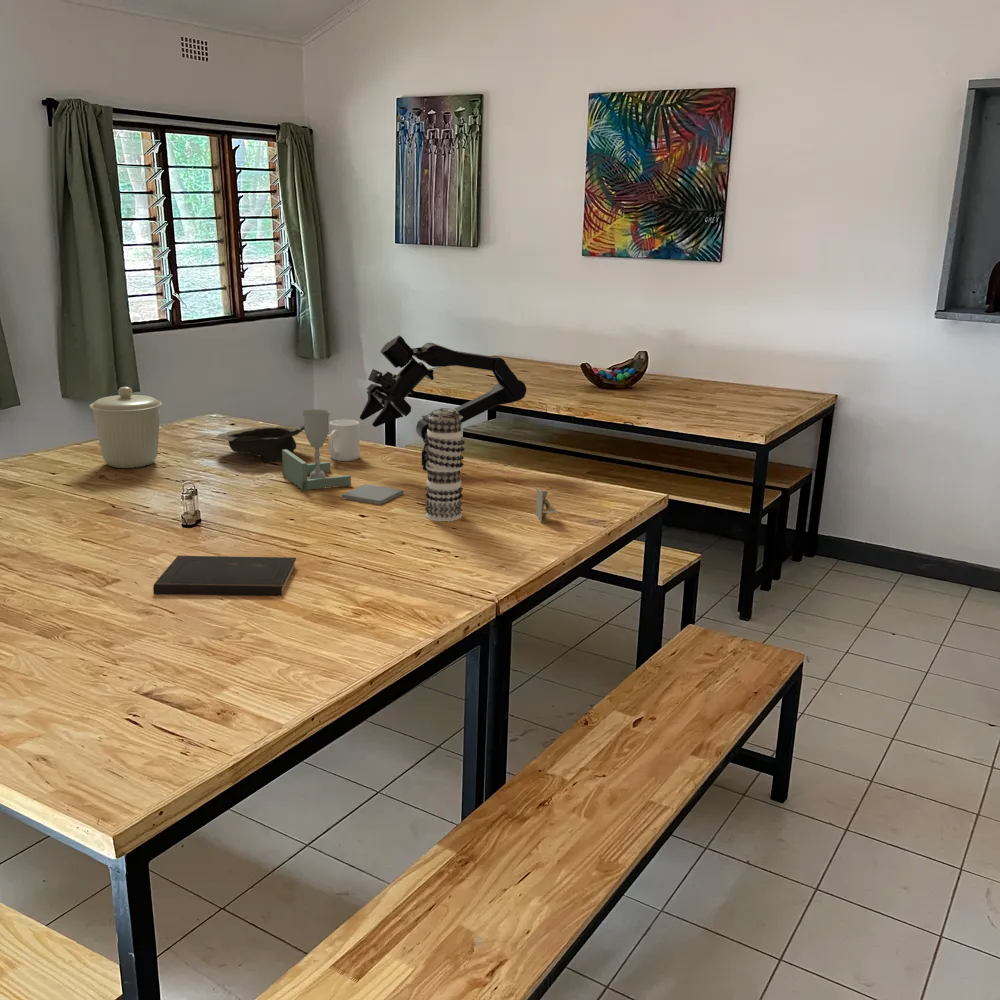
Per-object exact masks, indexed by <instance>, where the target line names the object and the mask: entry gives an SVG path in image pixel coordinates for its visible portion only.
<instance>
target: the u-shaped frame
mask: <svg viewBox="0 0 1000 1000" xmlns="http://www.w3.org/2000/svg"><path fill="white" fill-rule="evenodd" d="M281 462H282V476H283V477H284V476H285V477H286V479H287V480H290V481H289V482H291V483H292V482H293V483H294V484H293V483H292V484H293V485H295V486H296V485H297V486H298V487H297V486H296V487H297V488H299V489H300V488H301V489H302V490H303V492H305V491H304V490H307V491H311V490H310V489H316V490H319V489H318V488H325V487H326V488H325V489H328V488H327V487H333V488H337V487H336V486H342V487H347V486H346V485H351V486H352V475H350V474H345V475H337V476H328V477H327V476H326V478H316V479H309V478H308V475H311V474H310V473H311V472H312V471H315V468H316V466H315V463H314V462H313V463H307V462H306V461H304V460H303V459H302V458H300V457H299V456H297V455H295V454H294V453H291V452H290V451H288V450H287V449H285V450H282V460H281ZM320 462H321V463H320V465H319V468H320V470H321V471H323V472H324V473H331V472H332V471H331V462H330V461H323V462H322V461H320ZM285 477H284V478H285ZM334 486H335V487H334ZM301 489H300V490H301ZM302 490H301V491H302Z"/></svg>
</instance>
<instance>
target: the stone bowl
mask: <svg viewBox="0 0 1000 1000" xmlns="http://www.w3.org/2000/svg"><path fill="white" fill-rule="evenodd" d="M302 431H304V425H301V426H299V427H298V426H288V425H287V426H286V425H285V426H284V425H279V426H272V425H271V426H260V427H251V428H243V429H237V430H231V431H228V432H226V433H225V432H224V433H220V434H218V435H216V437H215V438H217V439H220V440H224V441H227V442H228V445H229V447H230V450H231V451H233V452H235V453H242V454H251V455H252V456H259V457H260V461H261V462H262V463H265V464H268V463H269V462H270V463H275V462H277V461H282V450H285V449H287V450H288V451H290V452H291V453H293V454H294V451H295V450H296V449H297V443H296V440H295V438H294V437H293V436H297V435H299V434H300V433H301V432H302Z"/></svg>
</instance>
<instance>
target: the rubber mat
mask: <svg viewBox="0 0 1000 1000" xmlns="http://www.w3.org/2000/svg"><path fill="white" fill-rule="evenodd" d="M402 495H404V490H403V489H399V488H394V487H393V488H392V487H386V486H381V485H373V484H366V483H364V484H362V485H360V486H357V487H355V488H353V489H351V490H348V491H346V492H344V493H341V496H340V497H341V498H340V499H342V498H346V499H345V500H348V499H350V501H354V500H355V502H360V501H361V503H366V502H368V503H367V504H372V503H375V504H374V505H379V504H381V505H382V503H383V504H384V502H385V503H388V502H389V501H391V500H393V498H394V499H396V498H398V497H400V496H402ZM395 497H396V498H395Z"/></svg>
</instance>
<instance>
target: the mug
mask: <svg viewBox="0 0 1000 1000" xmlns="http://www.w3.org/2000/svg"><path fill="white" fill-rule="evenodd" d="M360 440H361V439H360V421H358V420H354V419H335V420H331V421H329V437H328V442H327V446H328V447H327V448H328V451H329V454H330V458H331V460H334V461H336V460H337V462H352V461H356V459H357V460H358V459H359V458H360V455H361V454H360V453H361V450H360V448H361V447H360V446H361V445H360V442H361V441H360Z"/></svg>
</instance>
